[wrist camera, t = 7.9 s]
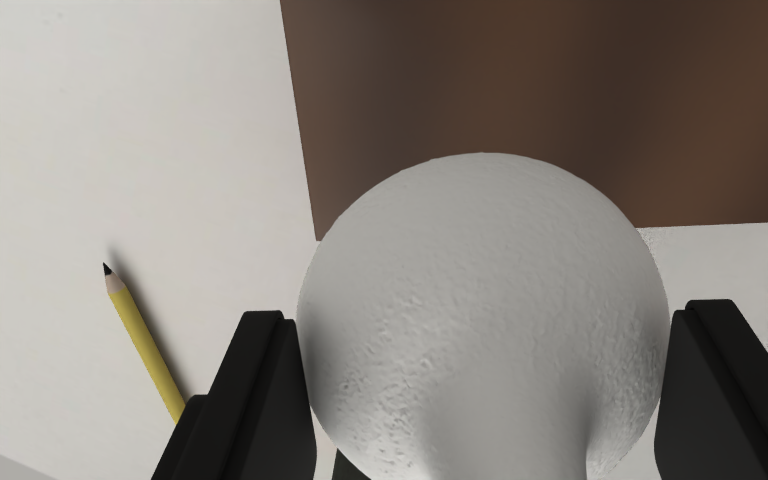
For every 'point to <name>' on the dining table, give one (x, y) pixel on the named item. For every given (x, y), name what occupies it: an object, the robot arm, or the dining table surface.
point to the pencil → (144, 343)
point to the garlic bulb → (483, 325)
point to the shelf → (539, 97)
